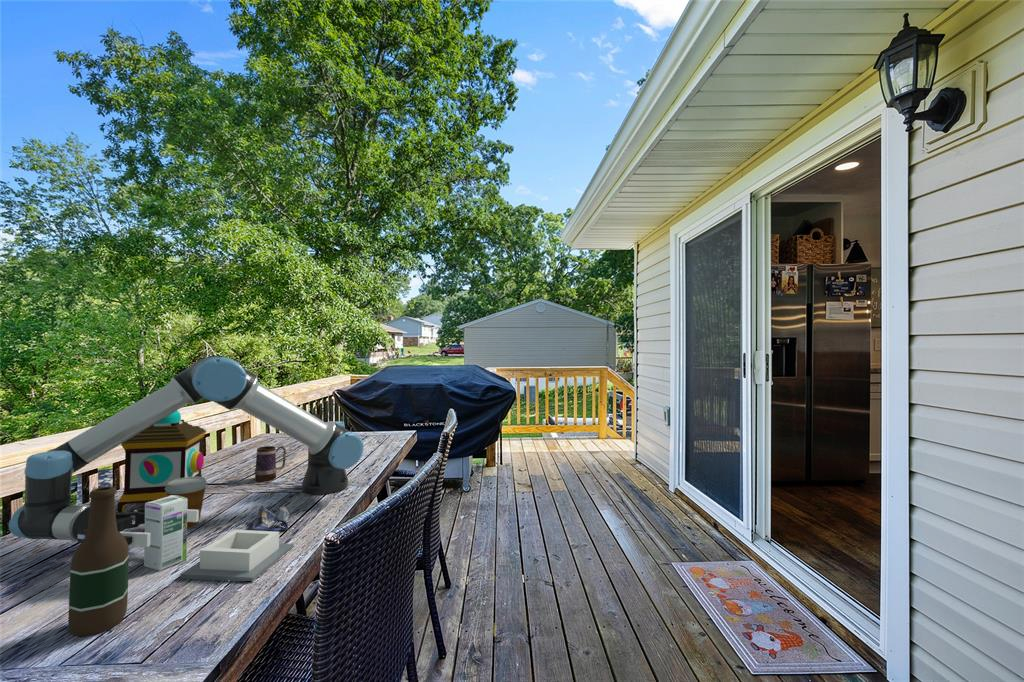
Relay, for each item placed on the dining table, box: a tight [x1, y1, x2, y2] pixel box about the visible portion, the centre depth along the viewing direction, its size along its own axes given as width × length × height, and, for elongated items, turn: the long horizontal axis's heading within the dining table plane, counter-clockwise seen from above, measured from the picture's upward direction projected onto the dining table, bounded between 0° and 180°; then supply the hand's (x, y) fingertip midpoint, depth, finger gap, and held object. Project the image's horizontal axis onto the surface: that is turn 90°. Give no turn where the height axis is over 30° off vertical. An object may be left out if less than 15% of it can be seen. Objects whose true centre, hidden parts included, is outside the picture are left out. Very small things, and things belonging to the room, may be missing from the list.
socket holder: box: [179, 529, 295, 582], centre depth 103 cm, size 16×16×5 cm
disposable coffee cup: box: [165, 476, 208, 529], centre depth 124 cm, size 10×10×12 cm
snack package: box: [251, 504, 290, 533], centre depth 124 cm, size 12×6×12 cm
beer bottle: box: [67, 485, 130, 638], centre depth 80 cm, size 8×8×24 cm
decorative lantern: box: [116, 410, 207, 513], centre depth 141 cm, size 20×20×30 cm
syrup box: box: [143, 495, 188, 572], centre depth 102 cm, size 6×6×14 cm
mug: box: [254, 444, 287, 483], centre depth 167 cm, size 10×7×12 cm
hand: (175, 527), depth 102 cm, fingers open, 13 cm apart
